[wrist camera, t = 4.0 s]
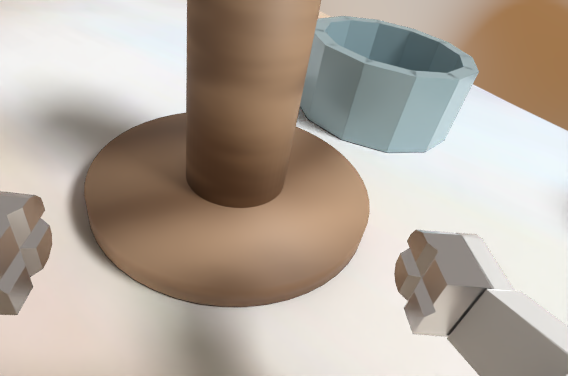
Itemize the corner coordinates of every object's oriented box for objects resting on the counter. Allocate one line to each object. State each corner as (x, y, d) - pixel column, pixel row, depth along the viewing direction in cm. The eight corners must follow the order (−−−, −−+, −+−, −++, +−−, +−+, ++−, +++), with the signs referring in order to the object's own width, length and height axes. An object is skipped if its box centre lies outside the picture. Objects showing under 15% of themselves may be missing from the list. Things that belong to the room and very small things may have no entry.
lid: (36, 172, 19) (-54, -144, 12) (243, 109, 28) (265, -93, 21) (212, 381, 13) (253, -39, 5) (410, 212, 22) (526, -31, 14)
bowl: (267, 94, 31) (278, 23, 27) (355, 70, 38) (372, 12, 35) (393, 171, 25) (427, 92, 21) (467, 126, 32) (500, 62, 29)
